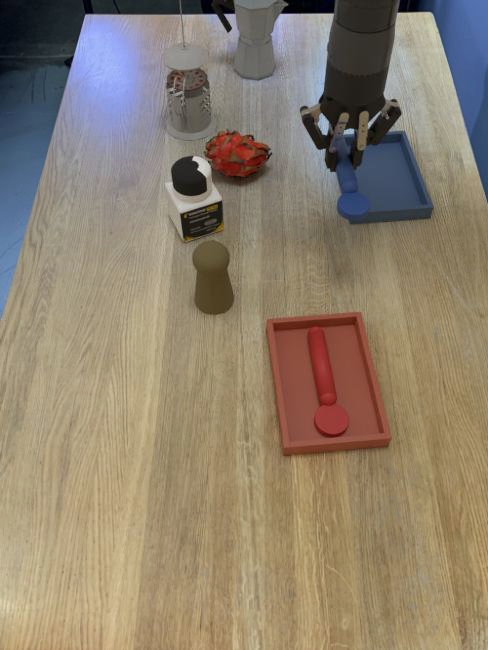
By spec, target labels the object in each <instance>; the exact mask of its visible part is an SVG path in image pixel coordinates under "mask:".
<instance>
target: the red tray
mask: <svg viewBox="0 0 488 650" xmlns="http://www.w3.org/2000/svg"><path fill="white" fill-rule="evenodd" d="M363 319H364V318H363V316H362V311H351V312H340V313H339V312H338V313H326V314H314V315H312V314H311V315H300V316H299V315H298V316H288V317H275V318H266V322H265V323H266V325H265V330H266V337H267V345H268V353H269V361H270V367H271V375H272V382H273V389H274V397H275V405H276V412H277V420H278V427H279V433H280V434H279V435H280V442H281V450H282V456H292V455H293V456H294V455H303V454H313V453H314V454H315V453H325V452H336V451H338V452H339V451H347V450H360V449H372V448H381V447H382V448H383V447H389V445H390V443H391V441H392V439H393V438H392V433H391V430H390V425H389V421H388V417H387V412H386V408H385V405H384V402H383V401H384V400H383V396H382V393H381V388H380V385H379V381H378V376H377V373H376V369H375V365H374V360H373V356H372V352H371V347H370V344H369V340H368V335H367V331H366V327H365V323H364V320H363ZM314 326H318V327H320V328H322V329H323V331H324V334H325V339H326V344H327V349H328V354H329V359H330V364H331V369H332V374H333V379H334V384H335V389H336V394H337V401H336V403H335V404H337V405H340V406H341V407H343V408H344V409H345V411H346V412H347V414H348V417H349V423H348V427H347V429H346V431H345V432H344V433H343V434H342V435H341V436H339V437H334V438H329V437H325V436H323V435H322V434H320V433H319V432H318V431H317V429H316V427H315V425H314V418H315V413H316V411H317V409H318V408H319V407H320V406H322V404H321V403H320V401H319V397H318V391H317V386H316V380H315V374H314V369H313V363H312V358H311V352H310V347H309V341H308V331H309V329H310V328H312V327H314Z"/></svg>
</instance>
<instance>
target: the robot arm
mask: <svg viewBox="0 0 488 650" xmlns="http://www.w3.org/2000/svg"><path fill="white" fill-rule="evenodd" d="M400 2H401V0H334V9H333V17H332V22H331V25H330V30H329V36H328V41H327V44H326V45H327V46H326V53H327V54H326V64H325V74H324V82H323V91H322V94H321V96H320V97H319V98H318V103H316V104H314V105H312V106H310V107H309V106H307V105H302V106H300V108H299V114H300V118H301V122H302V124H303V126H304V129H305V130H306V132H307V134H308V135H309V137H310V139H311V141H312V142H313V144H314V147H315V148H316V149H317V150H318V151H323V150H325V152H324V159H323V161H324V164H325V167H326V169H327V170H329V171H330V173H336V166H337V160H338V147H339V143H340V140H342V138H343V135H344V134H345V131H347V130H353V134H354V141H351V148H350V154H349V155H350V159H351V162H352V165H353V169H354V170H356V169H357V166H360V165H361V163H362V157H363V152H364V149H365V148H366V146H368V145H373V146H376V145H378V144H379V143H380V142H381V140H382V139H383V138H384V136H385V135H386V134H387V133H388V132H390V131H391V129H392V128H393V126H394V125H395V124H396V123H397V122H398V120H399V119H400V117H402V115H403V112H402V109H401V107H400V103H399V102H398V99H396V98H392V99H390V100H389V99H387V98H386V97H385V90H386V85H387V79H388V74H389V70H390V64H391V60H392V54H393V49H394V44H395V36H396V23H397V17H398V12H399V8H400ZM321 114H322V115H323V116H324V118H325V119H326V120H327V121H328V129H327V133H326V134H323V132H322V131H321V128H320V127H319V125H318V123H319V122H320V115H321ZM376 116H377V117H376ZM375 117H376V118H375ZM374 118H375V119H374ZM373 119H374V121H373ZM371 121H373V122H372V123H371V125H370V126H369V123H370V122H371Z"/></svg>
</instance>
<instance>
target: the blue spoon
mask: <svg viewBox="0 0 488 650" xmlns="http://www.w3.org/2000/svg"><path fill="white" fill-rule="evenodd" d="M336 173H337V174H336ZM335 174H336V178H337V177H338V178H337V181H338V180H339V181H338V185H339V184H340V185H339V187H340V188H341V189H340V188H339V189H340V192H341V191H342V193H343V194H342V193H341V195H339V197H337V203H336V211H337V214H338V215H339V216H340V217H341V218H343V219H345V220H347V221H349V220H352V221H356V220H361V219H363V218H365V217H366V216H367V215H368V213H369V210H370V200H369V198H368V197H367V196H366V195H364V194H362V193H360V192H357V191H358V187H359V186H358V182H357V179H356V175H355V172H354V169H353V165H352V162H351V159H350V155H349V152H348V148H347V145H346V142H345V138H344V136H343V138H342V140H340V143H339V147H338V160H337V166H336V172H335Z"/></svg>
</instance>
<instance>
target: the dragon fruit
mask: <svg viewBox="0 0 488 650" xmlns="http://www.w3.org/2000/svg"><path fill="white" fill-rule="evenodd" d="M225 131H226V132H225ZM225 131H224V130H219V131H218V132H217V135H214V136H212V137H211V138H210V139H209V140H208V141H207V142H205V150H203V151H202V154H204V155H203V156H204V157H205V158H207V159H208V160H207V162H208V163H209V164H210V167H211V171H213V172H215V171H218V170H219V171H220V172H221V173H223V174H224V175H225V176H226V177H227V178H228V179H229V181H230V182H233V181H234V179H235V177H234V176H236V177H242V178H251V177H253V176H254V175H257V174H258V173H259V170H260V169H261V168H262V166H263V165H264V164H266V163H267V162H268V161H269V160H270V158H271V156H272V155H273V152H272V151H271V150H272V149H271V147H270V146H269V145H268V144H266V143H264V142H259V141H256V138H255V136H254V135H253V134H251V133H249V134H246V135H241V134H240V131H239V130H236V129H234V130H233V131H232V132H231V131H230V130H229V128H227V127H226V130H225ZM270 151H271V152H270ZM210 160H211V161H210Z"/></svg>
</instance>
